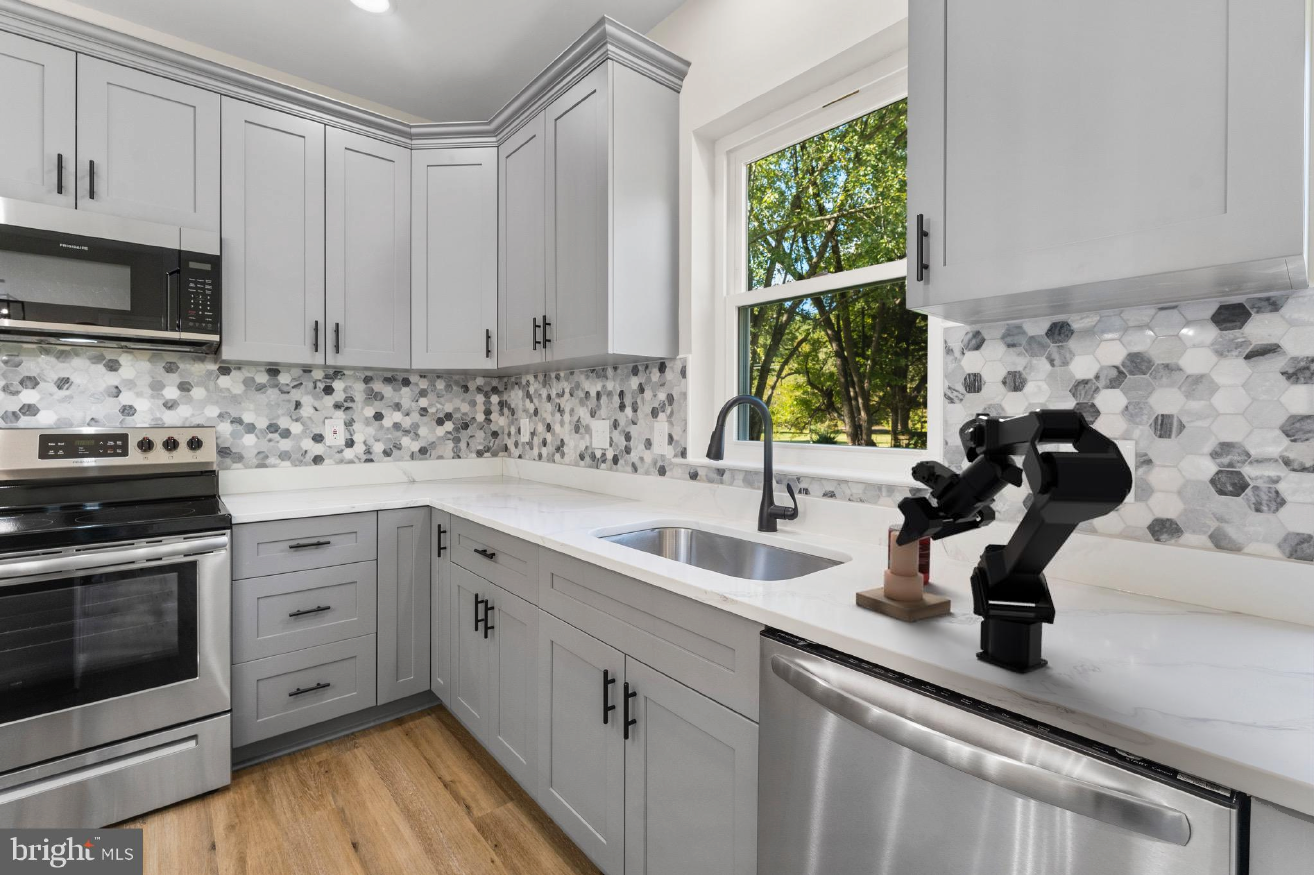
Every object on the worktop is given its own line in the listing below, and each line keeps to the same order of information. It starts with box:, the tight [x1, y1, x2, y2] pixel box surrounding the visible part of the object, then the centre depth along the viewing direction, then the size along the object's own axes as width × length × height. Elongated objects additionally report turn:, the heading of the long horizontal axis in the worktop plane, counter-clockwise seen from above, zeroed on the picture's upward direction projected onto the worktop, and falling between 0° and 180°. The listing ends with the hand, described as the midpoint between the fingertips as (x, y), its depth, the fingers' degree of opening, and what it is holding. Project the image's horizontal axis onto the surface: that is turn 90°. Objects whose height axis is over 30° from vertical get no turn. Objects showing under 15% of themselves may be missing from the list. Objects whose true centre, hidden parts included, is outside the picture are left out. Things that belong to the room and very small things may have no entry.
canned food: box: [887, 523, 932, 586], centre depth 124 cm, size 8×8×11 cm
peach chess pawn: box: [883, 531, 924, 602], centre depth 106 cm, size 6×6×11 cm
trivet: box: [855, 586, 952, 623], centre depth 106 cm, size 11×11×2 cm
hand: (915, 541), depth 104 cm, fingers open, 9 cm apart
